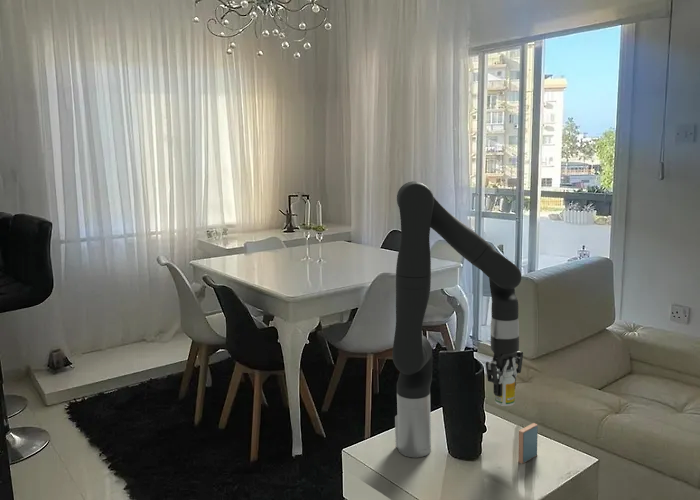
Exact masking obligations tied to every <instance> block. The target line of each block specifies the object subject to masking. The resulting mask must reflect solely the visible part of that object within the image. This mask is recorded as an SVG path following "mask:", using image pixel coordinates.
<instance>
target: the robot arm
mask: <svg viewBox="0 0 700 500" xmlns="http://www.w3.org/2000/svg"><path fill="white" fill-rule="evenodd" d="M396 203H397V207H398V211H399V214H400V216H399V217H400V218H399V219H400V243H399V249H398V252H397V258H396V266H395V267H396V269H395V328H394V329H395V330H394V337H393V344H392V345H393V346H392V352H391V353H392V354H391V355H392V356H391V357H392V361H393V364H394V366H395V368H396V369H397V370H398V371H399V375H398V379H397V382H396V403H397V404H396V407H397V408H396V411H397V412H396V413H397V414H396V415H395V416H394V429H395V430H394V432H395V433H394V434H395V436H394V437H395V447H396V448H397V449H398V450H397V451H398V452H399V453H400V454H401V455H402V456H405V457H409V458H422V457H425V456H428V455H429V454H430V453H431V452H432V442H431V441H432V440H431V439H432V431H431V428H432V427H431V426H432V425H431V423H432V422H431V421H432V420H431V384H432V381H433V349H432V345H431V343H430V341H429V339H428V338H427V337H426V336H425V335H424V334H423V324H424V318H425V314H426V311H427V308H428V304H429V299H430V295H431V283H432V281H431V280H432V276H431V275H432V259H431V246H430V243H431V242H430V232H431V229H432V230H433V231H434V232H436V233H437V234H438V235H439V236H440V237H441V238H442V239H443V240H444V242H446V243H447V244H448V245H449V246H450V247H451V248H453V249H454V250H455V251H456V252H457V253H458V254H459V255H460V256H462V257H463V258H464V259H465V260H466V261H467V262H469V263H470V264H471V265H473V266H474V267H476V268H477V269H478V270H480V271H481V272H482V273H484V274H485V275H486V276H487V277H488V282H489V289H490V295H491V296H490V297H491V318H490V319H491V320H490V350H491V351H492V352H493V357H492V359H491V361H486V362H485V370H486V377H487V381H488V382H489V383H493V394H494V396H495V395H496V396H499V397H500V396H502V379H503V376H505V374H506V370H507V369H512V370H513V375H512V376H513V377H514V378H515V387H516V385H517V383H516V381H517V377H518V374H521V372H522V366H523V358H524V352H523V351H519V350H520V322H519V301H518V297H517V296H516V295H517V294H516V290H515V289H516V288H517V287H518V286H519V285H520V284H521V282H522V281H521V280H522V272H521V270H520V268H519V267H518V266H517V265H516V264H514V263H513V262H512V261H511V260H509V259H508V258H507V257H506V256H504V255H503V254H501V253H500V252H498V251H497V250H496V249H495V247H493V246H492V245H491V244H490V243H489V242H488V241H487V240H486V239H484V238H483V237H482V236H480V235H479V234H478V233H477V232H476V231H474V230H473V229H471V228H470V227H469V226H468V225H466V224H465V223H464V222H462V221H461V220H459V218H457V217H456V216H454V215H453V214H452V213H450V212H449V211H448V210H447V209H446V208H445V207H444V206H443V205H441V203H440V202H439V201H438V200H437V199H436V197H435V196H434V193H433V192H432V189H430V188H429V187H428V185H426V184H424V183H423V182H420V181H408V182H405V183H404V184H402V185H401V186H400V187H399V189H398V191H397V194H396ZM498 369H499V370H502V372H499V371H498ZM498 374H499V379H498V378H497V375H498Z"/></svg>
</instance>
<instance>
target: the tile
mask: <svg viewBox="0 0 700 500" xmlns="http://www.w3.org/2000/svg"><path fill="white" fill-rule="evenodd" d="M517 453H518V456H517V457H518V458H517V459H518V463H519V464H522V465H523V464H525V463H527V462H528V461H530V460H531V459H533V458H535V457H536V456H538V424H537V423H535V422H532V423H530V424H529V425H527V426H525V427H523V428H521V429H519V430H518V452H517Z"/></svg>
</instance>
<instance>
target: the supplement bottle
mask: <svg viewBox="0 0 700 500" xmlns="http://www.w3.org/2000/svg"><path fill="white" fill-rule="evenodd" d="M497 371H499V372H502V370H499V369H497ZM512 375H513V370H512V369H507V370H506V374H505V376H503V379H502V396H500V397H499V396H496V395H494V402H495V404H497V405H499V406H501V407H509V406H513V405H515V403H516V402H515V401H516V386H515V378H514V377H513V376H512ZM497 378H498V379H499V374H497Z"/></svg>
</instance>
